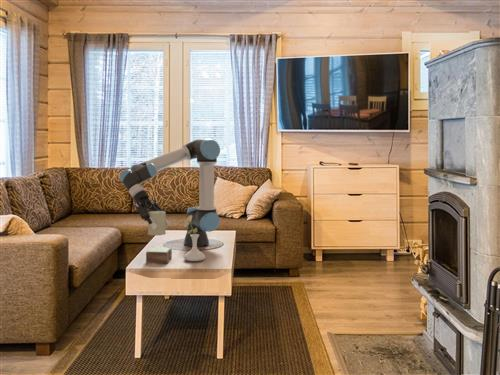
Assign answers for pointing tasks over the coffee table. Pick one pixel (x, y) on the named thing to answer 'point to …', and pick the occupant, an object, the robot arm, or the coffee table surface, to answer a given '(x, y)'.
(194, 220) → the robot arm
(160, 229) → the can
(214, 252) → the coffee table surface
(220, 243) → the coffee table surface
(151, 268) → the coffee table surface
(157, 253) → the brown square box
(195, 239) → the flower in vase
